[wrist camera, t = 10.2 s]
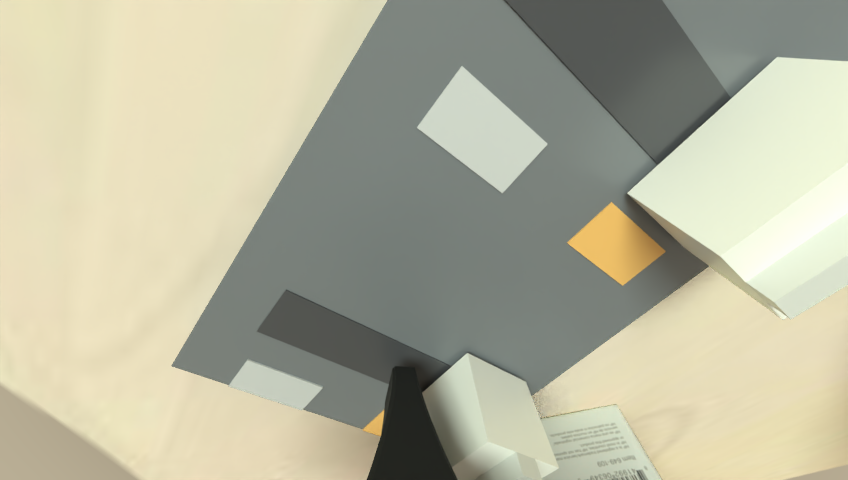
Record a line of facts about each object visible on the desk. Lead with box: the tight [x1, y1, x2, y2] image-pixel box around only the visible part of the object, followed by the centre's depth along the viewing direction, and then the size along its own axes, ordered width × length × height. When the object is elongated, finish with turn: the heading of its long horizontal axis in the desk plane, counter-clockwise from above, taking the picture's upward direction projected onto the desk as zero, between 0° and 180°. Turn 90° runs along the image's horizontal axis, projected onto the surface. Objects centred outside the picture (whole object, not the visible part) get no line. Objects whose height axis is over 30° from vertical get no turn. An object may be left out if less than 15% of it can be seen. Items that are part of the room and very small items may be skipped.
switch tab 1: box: [422, 353, 559, 480], centre depth 12 cm, size 4×3×4 cm
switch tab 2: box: [627, 57, 848, 320], centre depth 7 cm, size 4×3×4 cm
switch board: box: [172, 0, 848, 436], centre depth 11 cm, size 19×12×2 cm, turn 142°
